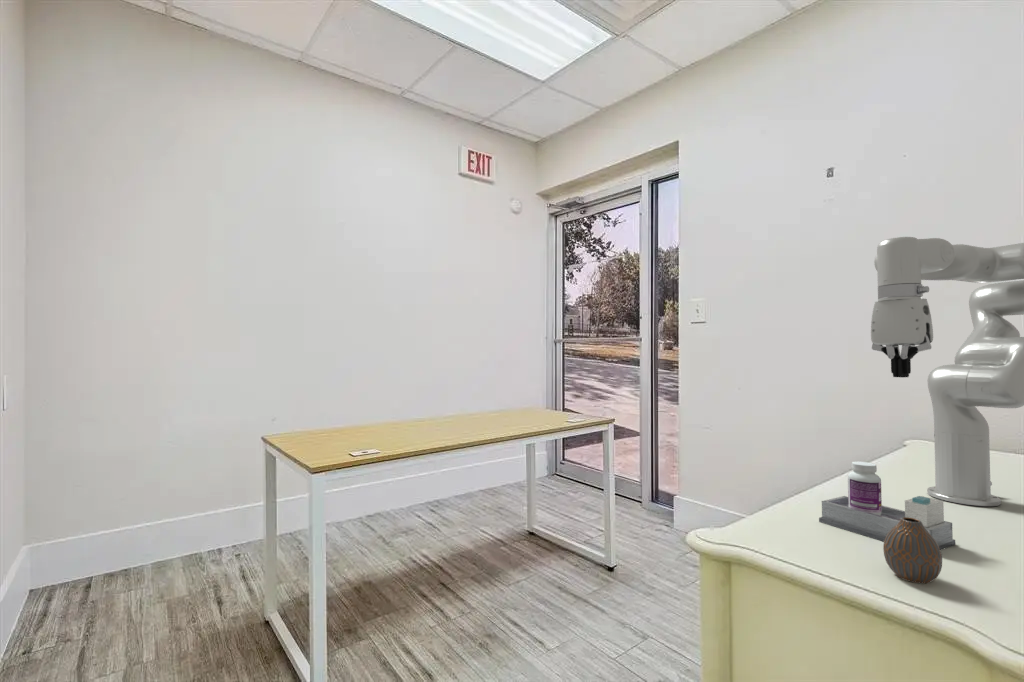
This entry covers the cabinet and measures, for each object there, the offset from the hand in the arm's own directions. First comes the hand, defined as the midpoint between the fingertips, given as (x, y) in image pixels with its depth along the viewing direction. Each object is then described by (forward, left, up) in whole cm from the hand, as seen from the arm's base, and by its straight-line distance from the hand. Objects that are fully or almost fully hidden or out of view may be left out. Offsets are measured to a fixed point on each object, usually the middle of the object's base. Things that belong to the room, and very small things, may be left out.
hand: (900, 376), depth 105 cm
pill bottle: (+19, +2, -26) cm, 33 cm away
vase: (+36, +17, -29) cm, 49 cm away
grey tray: (+19, +5, -29) cm, 35 cm away
